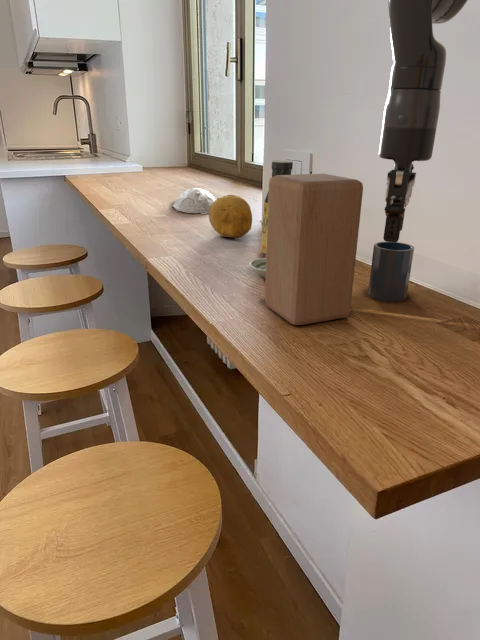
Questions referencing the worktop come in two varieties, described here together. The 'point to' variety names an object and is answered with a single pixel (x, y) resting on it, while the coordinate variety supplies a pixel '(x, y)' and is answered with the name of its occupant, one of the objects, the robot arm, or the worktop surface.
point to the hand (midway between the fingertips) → (392, 235)
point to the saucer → (259, 266)
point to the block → (311, 246)
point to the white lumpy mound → (194, 201)
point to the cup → (390, 271)
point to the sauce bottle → (277, 169)
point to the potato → (230, 216)
